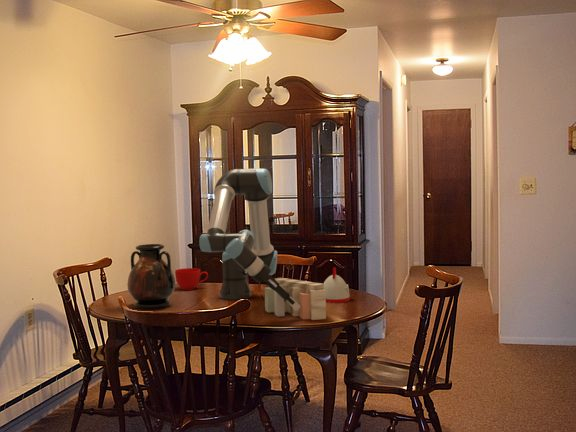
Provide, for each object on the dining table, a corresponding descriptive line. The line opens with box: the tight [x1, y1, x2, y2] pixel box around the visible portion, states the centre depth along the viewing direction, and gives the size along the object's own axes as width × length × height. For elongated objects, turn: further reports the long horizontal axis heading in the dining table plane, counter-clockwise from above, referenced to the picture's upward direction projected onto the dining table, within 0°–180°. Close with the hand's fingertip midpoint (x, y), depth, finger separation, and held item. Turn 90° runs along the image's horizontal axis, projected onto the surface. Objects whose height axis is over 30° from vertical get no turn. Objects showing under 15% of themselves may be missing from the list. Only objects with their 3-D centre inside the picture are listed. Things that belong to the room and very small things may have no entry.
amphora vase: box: [127, 243, 176, 310], centre depth 312 cm, size 22×22×28 cm
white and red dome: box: [323, 267, 351, 304], centre depth 316 cm, size 14×14×15 cm
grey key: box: [274, 291, 286, 317], centre depth 286 cm, size 5×3×10 cm, turn 15°
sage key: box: [264, 286, 275, 314], centre depth 294 cm, size 5×3×10 cm, turn 15°
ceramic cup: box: [174, 267, 209, 291], centre depth 354 cm, size 13×17×10 cm
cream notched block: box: [274, 277, 327, 321], centre depth 288 cm, size 31×10×14 cm, turn 44°
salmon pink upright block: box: [299, 292, 311, 320], centre depth 279 cm, size 5×3×10 cm, turn 15°
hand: (298, 308), depth 278 cm, fingers closed
